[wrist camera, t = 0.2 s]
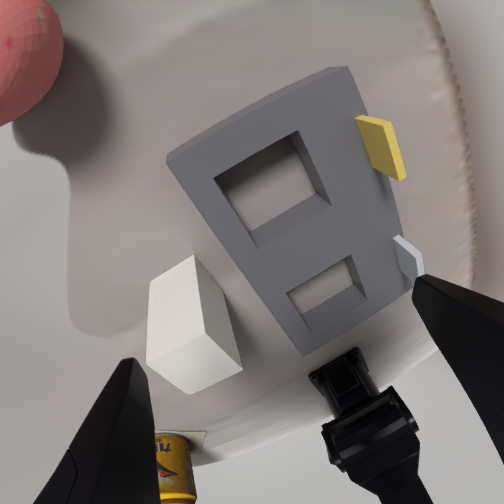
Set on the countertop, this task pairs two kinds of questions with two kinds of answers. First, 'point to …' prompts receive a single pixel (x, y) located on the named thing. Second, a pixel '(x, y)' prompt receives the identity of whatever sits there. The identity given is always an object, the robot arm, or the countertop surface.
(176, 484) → the condiment
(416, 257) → the socket plate
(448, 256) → the countertop surface
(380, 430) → the robot arm
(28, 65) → the apple
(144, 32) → the countertop surface
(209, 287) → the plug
